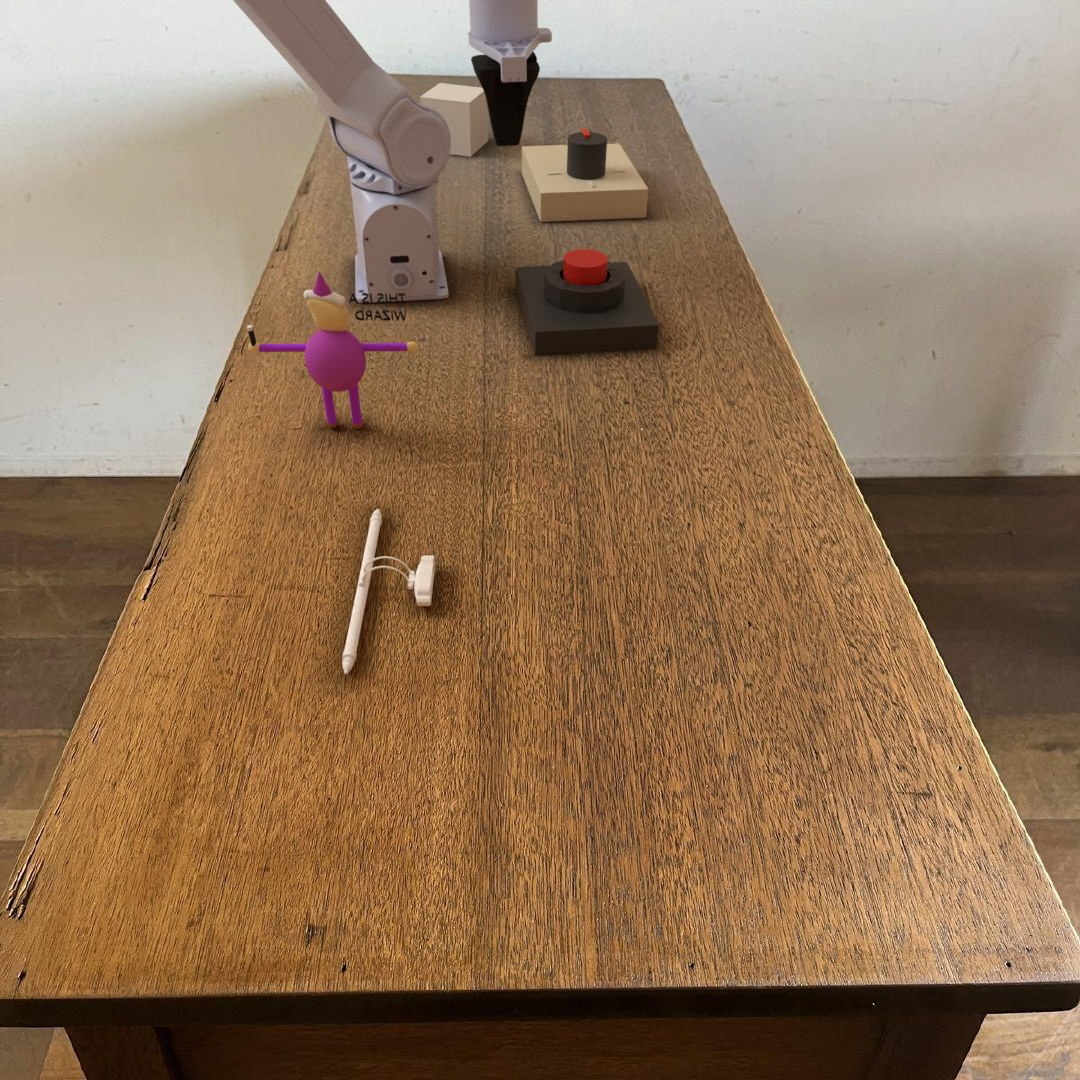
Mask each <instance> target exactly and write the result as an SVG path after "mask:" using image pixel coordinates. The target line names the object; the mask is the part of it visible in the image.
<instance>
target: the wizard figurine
mask: <svg viewBox="0 0 1080 1080" xmlns="http://www.w3.org/2000/svg"><path fill="white" fill-rule="evenodd" d="M302 295H303V298H304V300H305V301H306V306H307V308H308V309H309V311H310V313H311V316H312V319H313V321H314V324H315V326H316V327H317V329H319V330H317V331H316V332H315V333H313V334H312V335H311V336H310V338H309V340H308V341H307V343H260V342H258V341H257V338H256V335H255V330H254V326H253V324H247V326H246V329H247V333H248V337H249V342H250V343H249V344H248V350H249V352H250V353H252V354H260V353H304V363H305V368H306V370H307V373H308V374H309V376H310V378H311V379H312V380H313V381H314V382H315V384H317V385H318V386H319V387H321V390H322V397H323V404H324V410H325V418H326V422H325V423H326V426H327V427H328V428H330V429H335V428H337V427H338V426H339V424H340V419H339V418H338V417H337V416H336V408H335V401H334V395H333V392H334V393H335V392H336V393H342V392H346V391H348V396H349V404H350V412H351V419H352V421H351V426H352V428H353V429H354V430H362V428H364V426H365V421H364V419H363V417H362V409H361V401H360V394H359V385H358V384H359V383H360V382H361V380H362V379H363V377H364V375H365V371H366V368H367V357H366V352H407V353H408V354H411V355H412V354H416V353H417V352H418V350H419V345H418V344H417V343H416V342H415V341H408V342H381V343H379V342H378V343H377V342H375V343H374V342H373V343H371V342H370V343H369V342H367V343H364V342H361V341H360V340H359V338H357V337H356V335H354V333H352V332H350V331H349V330H348V328H349V323H350V319H349V318H350V315H349V311H348V308H347V306H346V302H347V301H346V297H344V296H343V295H341V294H339V293H338V292H335V291H332V290H331V288H330V286H329V285H328V283H327V281H326V280H325V278H324V277H323V275H322V273H321V271H318V274H317V276H316V280H315V283H314V285H313V288H312V289H306V290H305V291H303V294H302ZM362 296H366V297H364V298H363V300H362V302H363V303H362V304H364V305H368V304H371V305H373V303H372V295H371V293H370V301H371V303H369V301H364V300H366V299H367V298H368V294H367V293H362ZM377 296H382V297H380V298H378V302H377V303H378V304H380V305H382V304H386V305H387V304H388V302H387V293H385V298H386V302H384V301H379V300H381V299H383V296H384V295H383V294H382V293H378V294H377ZM395 296H396V297H391V294H390V293H389V300H390V302H389V304H392V302H391V300H396V301H395V304H396V305H398V304H399V303H398V302H399V301H397V293H396V294H395ZM398 296H401V300H402V301H401V305H403V304H404V301H403V296H405V293H398ZM352 302H355V304H356V305H358V304H359V303H358V301H357V299H356V294H355V293H354V292H352V293H351V296H350V298H349V302H348V304H349V305H350V304H351V303H352ZM381 312H382V314H383V315H384V317H382V315H381V313H380V311H379V310H378V309H377V310H376V311H375V315H374V317H373V310H372V309H367V310H365V315H364V309H359V310H356V311H355V319H356V320H357V321H367V320H368V319H369V318H370V321H374V322H375V321H376V319H379V320H380V321H381V322H382V321H383V322H384V321H392V322H393V321H394V316H395V318H396V321H398V322H399V321H400V317H401V320H402V321H403V322H404V321H405V320H406V315H407V313H408V312H407V309H405V311H404V315H403V312H402V310H401V309H399V311H398V313H397V311H396V310H395V309H394V310H393V309H382V311H381ZM358 314H361V317H359V316H358ZM388 314H390V316H389V315H388ZM365 316H366V317H365Z"/></svg>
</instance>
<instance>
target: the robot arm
mask: <svg viewBox="0 0 1080 1080" xmlns="http://www.w3.org/2000/svg"><path fill="white" fill-rule="evenodd" d="M232 1H233V2H234V3H235V4H236V6H237V7H238V8H239V9H240V10H241V11H242V12H243V13H244V15H245V16H246V17H247V18H248V19H249V20H250V21H251V23H252V24H253V25H254V26H255V27H256V28H257V30H258V31H259V32H260V34H262V35H263V37H264V38H265V39H266V40H267V41H268V42H269V43H270V44H271V46H272V47H274V49H275V50H276V51H277V52H278V54H280V56H281V57H282V58H283V59H284V60H285V62H286V63H288V64H289V66H290V67H291V69H292V70H293V71H294V72H295V73H296V74H297V75H298V76H299V78H300V79H302V81H303V82H304V83H305V84H306V86H307V87H308V88H309V89H310V90H311V91H312V92H313V93H314V94H315V95H316V97H315V101H314V105H315V107H316V108H317V109H318V110H319V111H320V112H321V114H322V115H323V116H324V118H325V120H326V122H327V124H328V127H329V132H330V134H331V135H330V136H331V138H332V140H333V143H334V144H335V145H336V147H337V148H338V150H340V152H342V153H343V154H344V155H346V161H347V170H348V173H349V181H350V182H349V183H350V191H351V192H350V193H351V201H352V212H353V220H354V229H355V239H356V246H357V247H356V249H357V253H356V254H355V255H354V274H355V275H354V276H355V278H354V279H355V282H354V283H355V297H356V299H357V301H358V304H364V303H363V302H362V300H363V298H364V297H366V296H362V293H367V294H368V298H367V299H366V300H364V301H369V303H368V304H371V301H370V293H371V295H372V304H373V303H378V298H380V297H382V296H377V294H378V293H382V294H383V295H384V296H383V299H381V300H379V301H384V303H386V298H385V293H387V303H390V300H389V293H390V294H391V297H396V296H395V294H396V293H397V301H398V302H402V300H401V296H398V293H405V296H403V302H409V301H410V302H411V301H412V302H413V301H431V300H433V301H434V300H446V299H448V298H449V295H450V294H449V288H448V287H449V286H448V281H447V276H446V271H445V265H444V258H443V253H442V251H441V250H440V245H439V244H440V243H439V223H438V205H437V202H438V201H437V186H436V185H438V184H439V176H440V175H441V174H442V172H443V171H444V169H445V167H446V165H447V164H448V161H449V157H450V155H451V154H450V149H451V136H450V131H449V128H448V125H447V123H446V121H445V119H444V118H443V117H442V115H441V114H440V113H438V112H437V111H436V110H434V109H433V108H430V107H428V106H425V105H422V104H420V102H418V100H417V99H415V98H414V97H413V95H412V94H411V93H410V91H409V90H408V89H407V88H406V87H404V86H403V84H401V83H400V82H399V81H398V80H396V79H395V78H394V77H393V76H392V75H390V74H389V72H386V71H385V70H384V69H383V68H382V67H380V66H379V64H377V63H376V62H375V61H374V60H373V59H372V57H371V56H370V55H369V53H368V52H367V51H366V49H364V47H363V46H362V44H361V43H360V42H359V41H358V40H357V38H356V37H355V35H353V33H352V32H351V31H350V29H349V28H348V27H347V26H346V24H345V23H344V21H342V19H341V18H340V17H339V16H338V14H337V13H336V11H334V9H333V8H332V6H331V5H330V4H329V3H328V2H327V0H232ZM538 3H539V2H538V0H468V8H469V9H468V11H469V29H470V31H469V32H468V34H467V35H468V36H467V37H468V38H467V39H468V44H469V46H470V47H472V48H473V49H475V50H476V51H478V52H480V53H482V54H476V55H474V56H471V57H470V62H471V65H472V68H473V72H474V73H475V76H476V78H477V80H478V81H479V84H480V87H481V88H483V90H484V93H485V97H486V101H487V106H488V118H489V121H490V127H491V131H492V135H493V139H494V141H495V145H496V147H511V146H512V147H513V146H519V145H520V143H521V139H522V135H523V131H524V130H523V129H524V123H525V117H526V111H527V105H528V102H529V98H530V96H531V92H532V90H533V87H534V85H535V83H536V81H537V80H538V77H539V74H540V71H541V66H540V65H539V62H538V57H537V55H536V53H535V52H534V51H535V50H536V49H537V48H538V46H539V45H540V44H543V43H544V44H545V43H550V42H552V40H553V33H552V31H551V29H550V28H548V27H539V22H538V21H539V19H538V18H539V17H538V16H539V14H538V13H539V12H538V11H539V10H538V9H539V8H538V7H539V6H538ZM392 302H396V300H391V303H392Z"/></svg>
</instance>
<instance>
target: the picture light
mask: <svg viewBox="0 0 1080 1080" xmlns="http://www.w3.org/2000/svg"><path fill="white" fill-rule="evenodd" d="M382 524H383V516H382V511H381V509H380V508H376V509H375V510H374V511H373V513H372V514H371V516H370V518H369V526H368V532H367V538H366V543H365V547H364V552H363V557H362V562H361V566H360V573H359V576H358V580H357V581H358V582H357V587H356V592H355V596H354V602H353V607H352V611H351V616H350V621H349V627H348V632H347V636H346V641H345V645H344V650H343V652H342V656H341V660H342V662H341V664H342V670H343V673H344V675H348V674H349V672H351V671H352V669H353V667H354V666H355V662H356V661H357V655H358V654H357V651H358V646H359V641H360V635H361V631H362V625H363V619H364V613H365V608H366V603H367V599H368V593H369V588H370V583H371V577H372V572H373V571H375V570H378V569H389V570H393V571H396V572H397V573H399V574H401V575H402V576H403V577H404V578H405V581H406V582H407V587H406V588H407V590H409V591H410V590H414V597H415V600H416V606H417V607H430V606H431V605H432V597H433V587H434V579H435V572H436V555H422V556H421V557H420V562H419V564H418V566H417V569H416V571H415V570H411V568H410V567H409V566H408V565H407V563H405V562H404V561H402V560H401V559H399V558H396V557H393V556H390V555H389V556H387V555H384V556H383V555H382V556H377V557H375V555H376V552H377V551H376V550H377V546H378V540H379V535H380V530H381V529H380V528H381V526H382ZM382 559H383V560H384V559H388V560H392V561H393V560H394V561H396V562H398V563H400V564H401V565H403V566H404V567H405V568H406V570H407V571H408V574H409V575H408V576H407V575H406V574H405V573H404V572H403V571H401V570H400V569H398V568H396V567H393V566H390V565H389V566H388V565H378V566H374V562H375V561H377V560H382Z"/></svg>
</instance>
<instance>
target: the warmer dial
mask: <svg viewBox="0 0 1080 1080" xmlns="http://www.w3.org/2000/svg"><path fill="white" fill-rule="evenodd" d="M607 144H608V138H607V136H606V135H604V134H602V133H598V132H593V131H589V130H588V128H581V131H579V132H574V133H570V134H569V135H568V137H567V145H568V150H567V174H568V175H570V176H571V177H574V178H578V179H597V178H600V177H602V176H604V175H605V169H606V152H607Z"/></svg>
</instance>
